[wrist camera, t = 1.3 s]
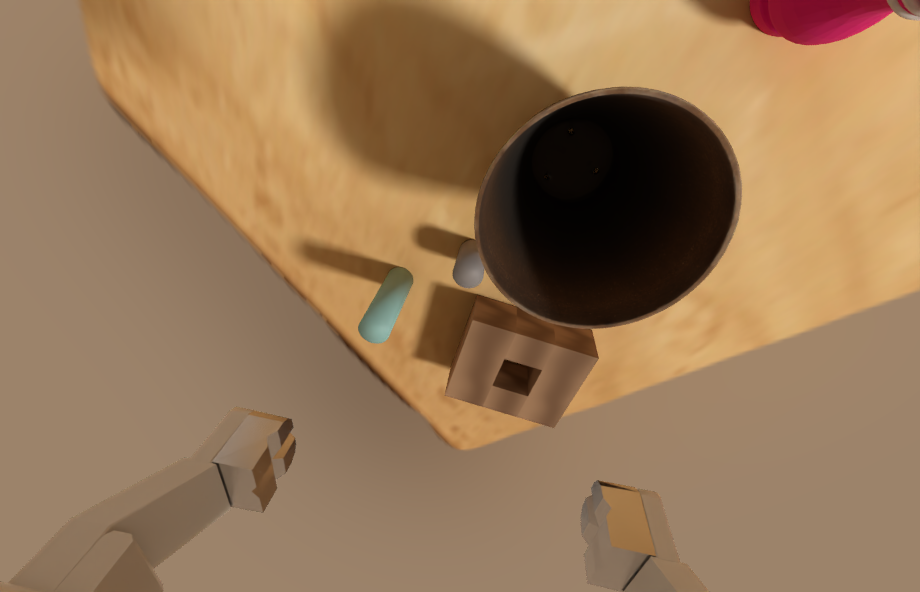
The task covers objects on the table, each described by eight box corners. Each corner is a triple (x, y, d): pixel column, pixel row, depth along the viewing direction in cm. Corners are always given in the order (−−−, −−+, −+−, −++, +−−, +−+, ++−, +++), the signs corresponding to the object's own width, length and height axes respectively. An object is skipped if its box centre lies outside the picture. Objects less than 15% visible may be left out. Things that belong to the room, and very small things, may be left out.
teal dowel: (385, 285, 47) (356, 338, 39) (390, 263, 46) (360, 314, 37) (410, 292, 47) (386, 347, 39) (415, 271, 46) (391, 323, 37)
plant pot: (682, 188, 37) (773, 271, 24) (537, 259, 43) (543, 358, 29) (619, 26, 31) (692, 15, 18) (461, 133, 37) (426, 186, 24)
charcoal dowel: (456, 259, 44) (449, 282, 40) (463, 236, 43) (457, 257, 38) (482, 267, 44) (477, 291, 40) (490, 244, 43) (487, 266, 38)
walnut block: (450, 367, 53) (444, 395, 49) (477, 294, 46) (472, 320, 42) (551, 397, 53) (554, 428, 49) (591, 330, 47) (598, 358, 43)
